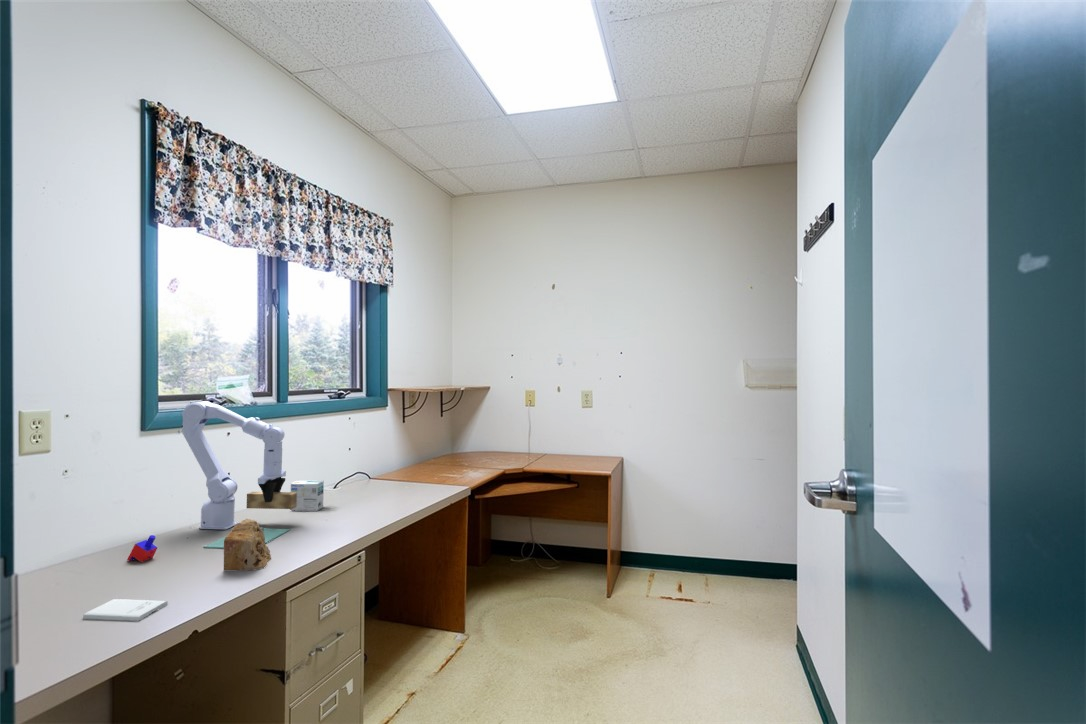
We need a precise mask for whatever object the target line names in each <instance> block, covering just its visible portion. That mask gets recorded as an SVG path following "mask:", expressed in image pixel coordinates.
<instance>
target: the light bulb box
mask: <svg viewBox="0 0 1086 724" xmlns="http://www.w3.org/2000/svg"><path fill="white" fill-rule="evenodd" d="M324 483H325V481H324V480H295V481H293V482H291V483H290V492H297V507H295V508H293V509H289V511H290V510H292V511H291V512H317V511H319V510H321V509H322V508H324V489H325V488H324V487H325V486H324ZM294 510H295V511H294Z"/></svg>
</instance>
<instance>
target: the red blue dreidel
mask: <svg viewBox="0 0 1086 724" xmlns="http://www.w3.org/2000/svg"><path fill="white" fill-rule="evenodd" d="M155 540H156V535H153V534H151V535H149V536H148V538H147V539H145V540H142V541H139V542H137V543H136V542H135V544H134V546H133V547H132V549H131V551H130V554H129V555H128V557H127V559H126V561H128V562H132V561H134V560H136V561H137V560H138V561H139V562H140V563H143V562H145V560H146V561H148V560H151V559H153V557H154V556H155V554H156V552H157V550H158V546H157V545H155V544H153V543H154V541H155ZM150 558H151V559H150ZM133 559H134V560H133ZM131 560H132V561H131ZM142 561H143V562H142Z"/></svg>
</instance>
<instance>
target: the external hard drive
mask: <svg viewBox="0 0 1086 724" xmlns="http://www.w3.org/2000/svg"><path fill="white" fill-rule="evenodd" d="M165 605H166V606H168V605H169V603H168V600H153V599H152V600H150V599H149V600H147V599H125V598H122V599H121V598H113V599H111V600H109V601H107V602H104V603H103V604H101V605H99V606H97V607H95V608H92V609H90V610H88V611H87V612H85V613H83V615H82V616H83V617H82V619H83V620H104V621H105V620H106V621H128V620H129V621H131V622H133V621H134V622H139V620H140V621H141V620H143V619H145V618H147V617H149V616H150V615H151V614H153V613H154V612H157V611H159V610H161V609H163V608H164V607H165ZM160 608H161V609H160ZM158 609H159V610H158ZM152 612H153V613H152ZM149 614H150V615H149ZM146 616H147V617H146ZM144 617H145V618H144ZM142 618H143V619H142Z"/></svg>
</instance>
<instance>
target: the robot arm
mask: <svg viewBox="0 0 1086 724" xmlns="http://www.w3.org/2000/svg"><path fill="white" fill-rule="evenodd" d="M181 415H182V416H181V417H182V425H183V427H181V429H182V430H181V432H182V435H183V437H184V439H185V440H186V443H187V444H188V446H189V448H190V450H191V452H192V453H193V455H194V457H195V459H196V462H197V463H198V465H199V467H200V468H201V470H202V472H203V474H204V476H205V478H206V482H205V484H206V488H207V492H208V493H207V496H208V498H209V500H206V501H205V502H203V503H202V506H201V509H200V526H198V529H199V530H200V529H201V530H222V531H223V530H228V529H231V528H233V527H235V525H236V524H237V523H240V522H241V521H235V508H236V506H235V505H236V503H235V502H236V497H235V496H234V495H235V494H236V492H237V491H238V483H237V482H236V481H235V479H232V478H231V476H230V475H229V473H228V472H227V471H224V469H223V468H222V465H221V464H220V462H219V460H218V458H217V457H216V454H215V452H214V450H213V449H212V447H211V445H210V443H209V441H208V440H207V438H206V436H205V433H204V431H203V429H204V427H205V425H206V423H207V422H208V421H209V420H210V419H219V420H223V421H225V422H227V423H230V424H233V425H235V426H237V427H240V428H241V430H242V432H243V433H245V434H248V435H250V436H252V437H254V438H256V439H258V440H262V442H263V443H264V451H263V468H262V469H263V471H262V472H263V473H262V475H261V476H260V477H258V478H257V484H258V486H259V488H260V489H261V492H263V496H264V500H265V502H272V499H273V492H282V491H281V490H282V487H283V486H284V483H285V481H286V477H287V474H286V473H287V470H282V466H283V465H282V464H283V440H284V438H285V432H284V429H283V428H281V427H280V426H277V425H276V426H273V424H272V423H267V422H264V421H262V420H261V418H260V417H253V416H252V417H248V418H246V417H244V416H242V415H240V414H238V413H236V412H234V411H233V410H230V409H227V408H226V407H224V406H221V405H219V404H218V403H212V402H210V401H209V400H203V401H197V402H196V401H194V402H190V403H188V404H187V405H186V406H185V407H184V409H183V411H182V413H181Z"/></svg>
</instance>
